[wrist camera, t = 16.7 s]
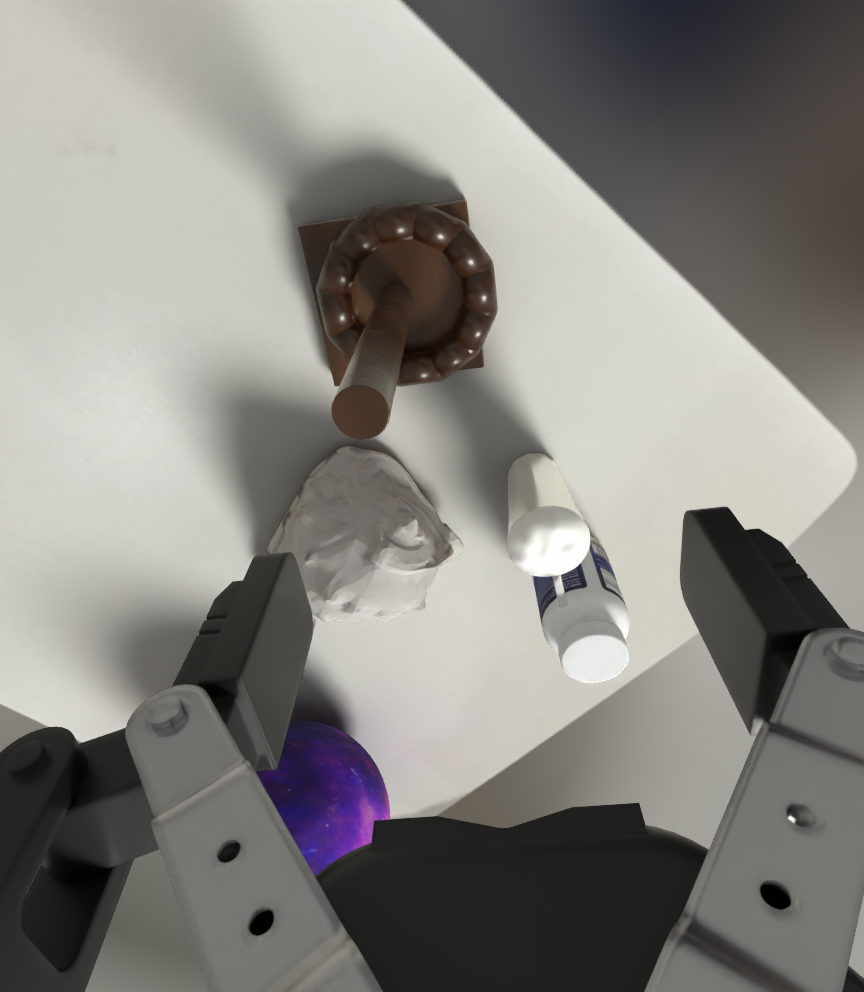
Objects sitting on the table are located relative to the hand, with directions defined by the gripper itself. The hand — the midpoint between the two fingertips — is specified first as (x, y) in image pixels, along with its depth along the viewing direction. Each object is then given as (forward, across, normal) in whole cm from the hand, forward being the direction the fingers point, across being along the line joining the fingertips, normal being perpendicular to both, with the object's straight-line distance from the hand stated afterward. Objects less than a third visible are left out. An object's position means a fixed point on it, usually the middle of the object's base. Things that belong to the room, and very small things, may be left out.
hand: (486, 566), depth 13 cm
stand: (+27, +4, 0) cm, 27 cm away
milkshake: (+27, -3, +13) cm, 30 cm away
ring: (+24, +3, 0) cm, 25 cm away
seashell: (+27, +9, +16) cm, 32 cm away
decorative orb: (+27, +18, +37) cm, 49 cm away
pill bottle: (+27, -5, +20) cm, 34 cm away
